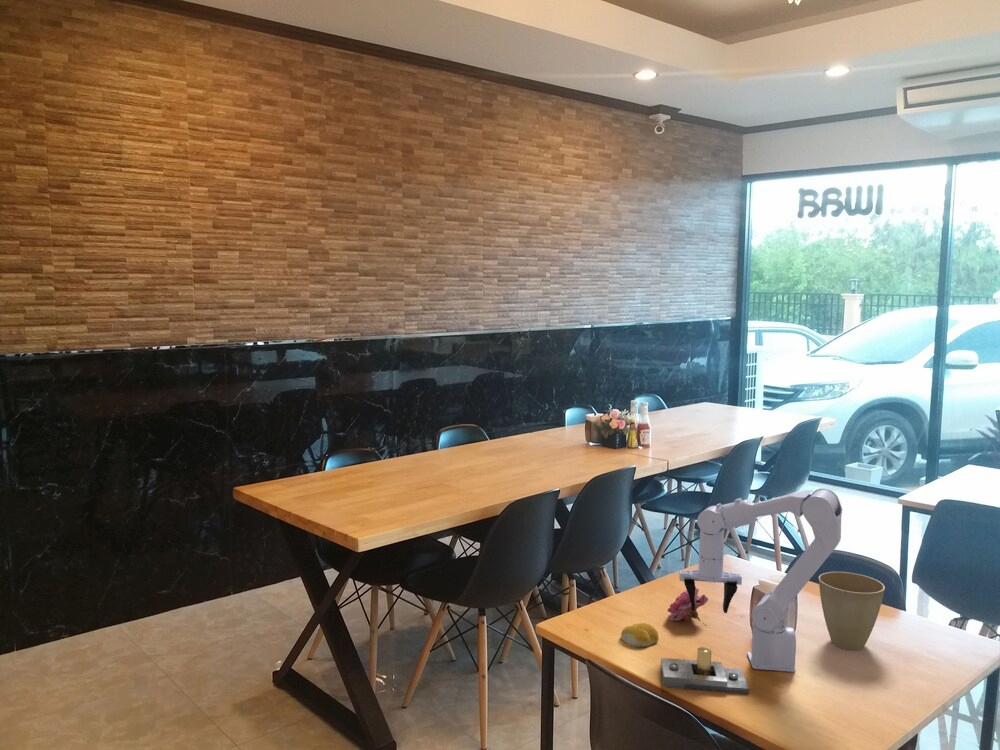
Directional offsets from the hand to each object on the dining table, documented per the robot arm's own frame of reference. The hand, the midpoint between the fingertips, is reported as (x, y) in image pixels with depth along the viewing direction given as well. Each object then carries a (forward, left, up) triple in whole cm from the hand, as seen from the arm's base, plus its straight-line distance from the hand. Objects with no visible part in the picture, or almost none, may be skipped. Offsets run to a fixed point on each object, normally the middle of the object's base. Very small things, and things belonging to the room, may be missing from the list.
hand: (708, 610), depth 187 cm
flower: (+4, -16, -10) cm, 19 cm away
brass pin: (+3, +17, -9) cm, 20 cm away
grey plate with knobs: (+3, +17, -9) cm, 20 cm away
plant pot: (-35, -8, -10) cm, 37 cm away
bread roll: (+16, -2, -10) cm, 19 cm away
